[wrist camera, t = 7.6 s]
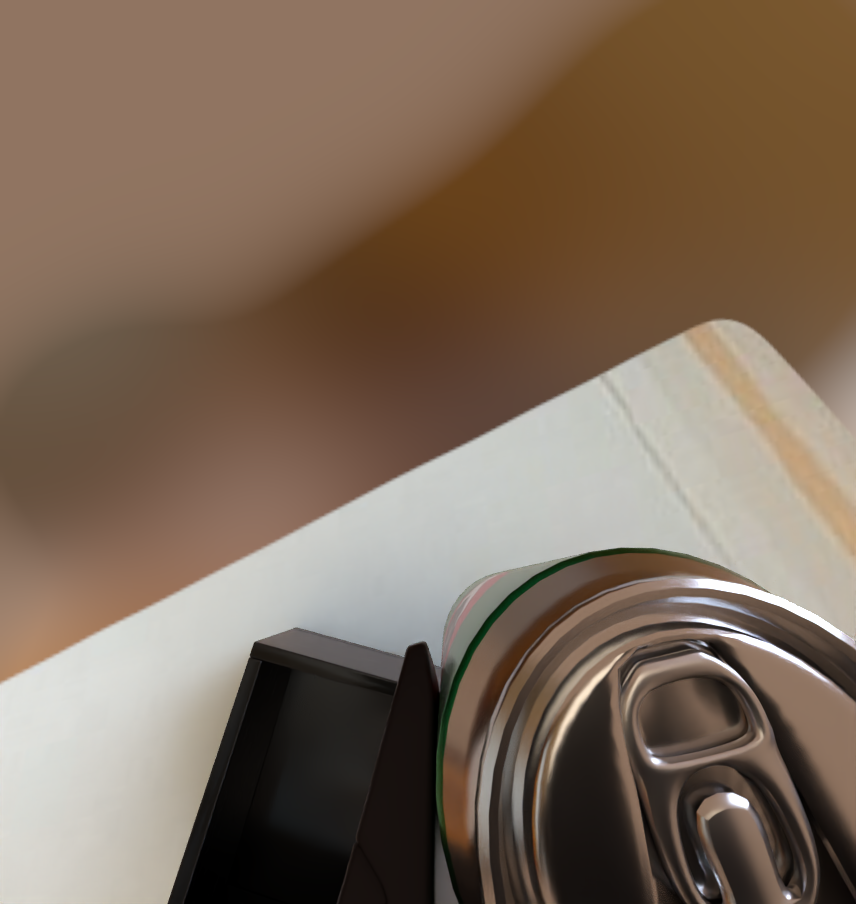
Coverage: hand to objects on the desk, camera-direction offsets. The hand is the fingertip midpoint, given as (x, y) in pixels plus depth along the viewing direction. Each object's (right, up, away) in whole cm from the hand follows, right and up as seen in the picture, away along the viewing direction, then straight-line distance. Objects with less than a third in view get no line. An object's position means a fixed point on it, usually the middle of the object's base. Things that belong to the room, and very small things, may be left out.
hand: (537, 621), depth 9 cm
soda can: (+1, -3, +6) cm, 7 cm away
